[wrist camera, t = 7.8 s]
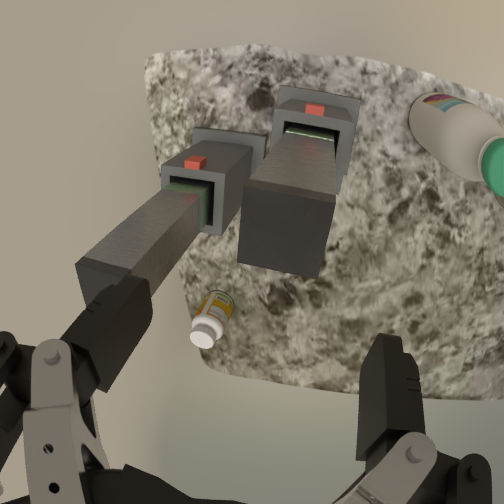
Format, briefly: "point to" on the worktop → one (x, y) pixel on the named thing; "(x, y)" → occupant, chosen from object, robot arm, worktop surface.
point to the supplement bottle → (211, 319)
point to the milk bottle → (460, 138)
